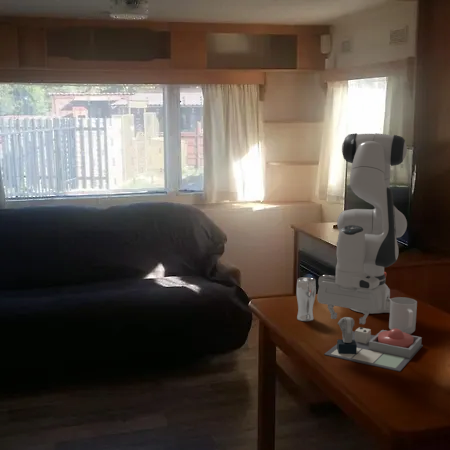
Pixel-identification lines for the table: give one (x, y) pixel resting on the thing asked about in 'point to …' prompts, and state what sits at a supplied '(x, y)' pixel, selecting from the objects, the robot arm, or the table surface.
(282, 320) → the table surface
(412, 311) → the mug
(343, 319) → the watch
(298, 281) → the beer glass
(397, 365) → the game board
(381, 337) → the dome
